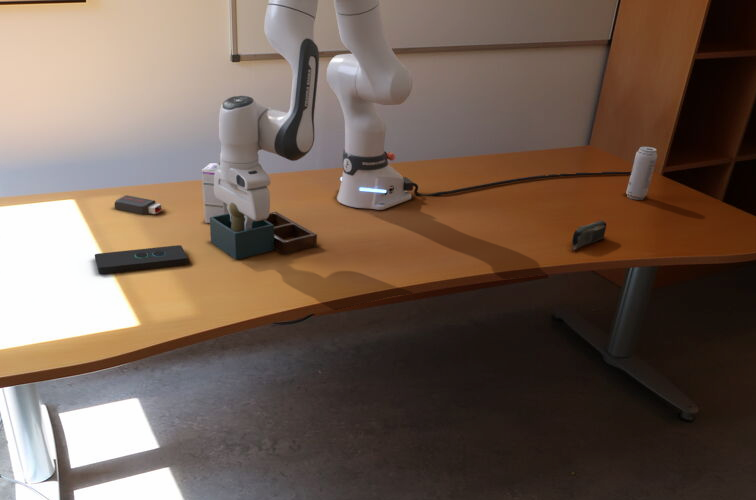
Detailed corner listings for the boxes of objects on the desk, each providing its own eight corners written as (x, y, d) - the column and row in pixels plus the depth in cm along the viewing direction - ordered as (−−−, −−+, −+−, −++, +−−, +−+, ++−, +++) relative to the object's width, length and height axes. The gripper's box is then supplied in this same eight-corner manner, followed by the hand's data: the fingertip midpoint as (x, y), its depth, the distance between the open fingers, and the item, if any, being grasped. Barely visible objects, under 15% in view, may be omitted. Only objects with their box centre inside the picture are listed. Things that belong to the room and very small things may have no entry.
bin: (248, 233, 190) (247, 209, 186) (274, 250, 182) (273, 224, 178) (210, 242, 184) (209, 217, 180) (236, 259, 176) (235, 233, 172)
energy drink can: (628, 192, 233) (641, 144, 225) (648, 197, 230) (661, 148, 222) (622, 197, 228) (635, 148, 221) (642, 201, 226) (655, 152, 218)
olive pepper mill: (252, 249, 180) (251, 206, 174) (227, 248, 180) (225, 205, 174) (255, 239, 185) (254, 197, 179) (231, 238, 185) (229, 196, 179)
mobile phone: (599, 218, 198) (569, 229, 189) (609, 221, 196) (580, 233, 187) (595, 235, 200) (565, 248, 191) (605, 239, 199) (576, 251, 189)
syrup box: (225, 225, 194) (223, 171, 186) (204, 223, 194) (201, 168, 187) (232, 218, 198) (230, 164, 191) (211, 215, 199) (209, 162, 192)
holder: (275, 222, 197) (275, 211, 196) (316, 245, 185) (316, 234, 184) (244, 229, 192) (243, 218, 190) (283, 254, 180) (283, 242, 178)
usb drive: (126, 202, 204) (125, 193, 203) (163, 210, 201) (163, 200, 199) (114, 208, 200) (113, 198, 199) (153, 216, 197) (152, 206, 195)
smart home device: (188, 257, 171) (98, 267, 164) (188, 264, 172) (99, 274, 165) (181, 244, 178) (94, 253, 171) (181, 250, 179) (95, 259, 172)
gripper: (205, 160, 178) (208, 215, 185) (250, 184, 164) (251, 243, 171) (229, 157, 181) (230, 211, 188) (274, 180, 168) (274, 237, 175)
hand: (241, 226), depth 180 cm, fingers closed on olive pepper mill, 4 cm apart
